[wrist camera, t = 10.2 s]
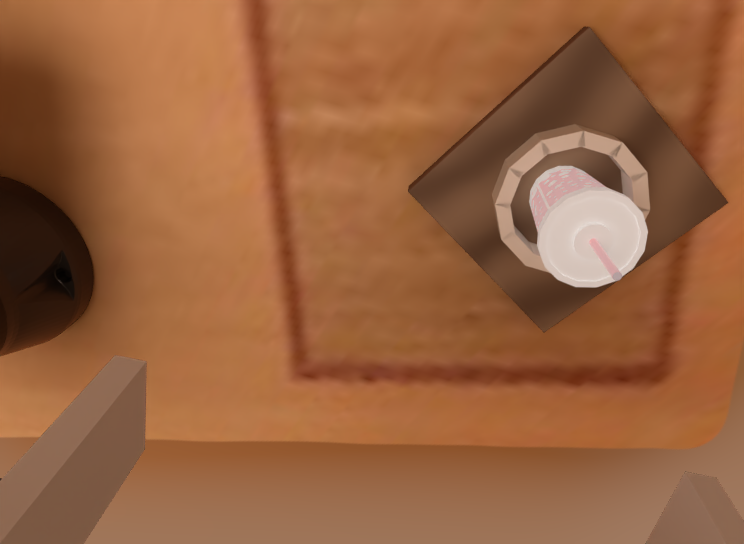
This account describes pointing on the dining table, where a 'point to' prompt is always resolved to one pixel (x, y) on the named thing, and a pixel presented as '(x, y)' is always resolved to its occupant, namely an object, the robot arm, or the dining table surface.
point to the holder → (550, 111)
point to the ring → (551, 143)
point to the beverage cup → (585, 228)
